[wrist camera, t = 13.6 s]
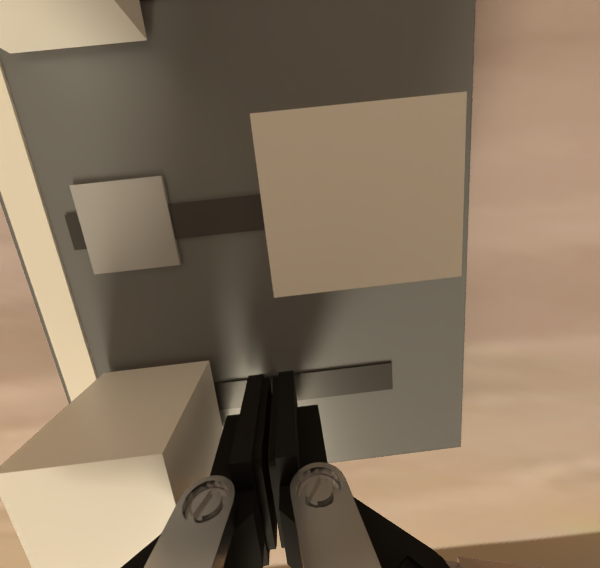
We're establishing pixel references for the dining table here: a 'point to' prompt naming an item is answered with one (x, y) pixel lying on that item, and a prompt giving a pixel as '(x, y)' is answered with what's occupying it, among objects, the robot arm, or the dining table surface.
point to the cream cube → (112, 466)
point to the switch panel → (228, 209)
